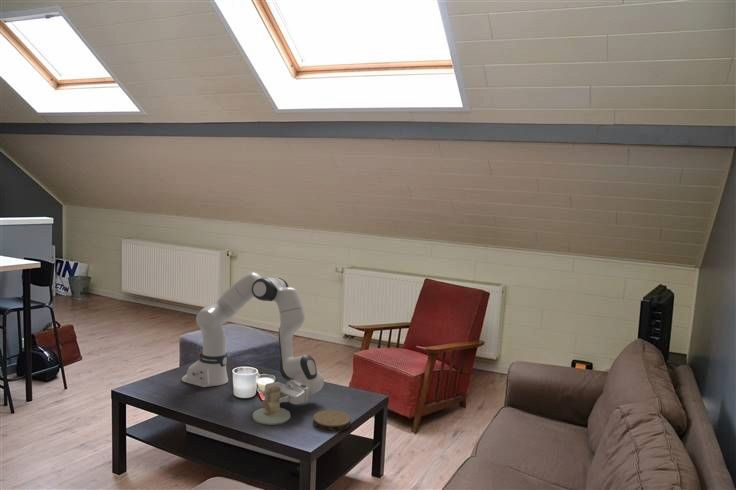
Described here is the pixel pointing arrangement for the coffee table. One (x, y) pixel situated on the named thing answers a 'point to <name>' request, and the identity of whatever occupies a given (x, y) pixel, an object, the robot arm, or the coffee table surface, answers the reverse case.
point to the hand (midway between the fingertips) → (271, 397)
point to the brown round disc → (331, 420)
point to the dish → (264, 419)
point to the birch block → (271, 401)
